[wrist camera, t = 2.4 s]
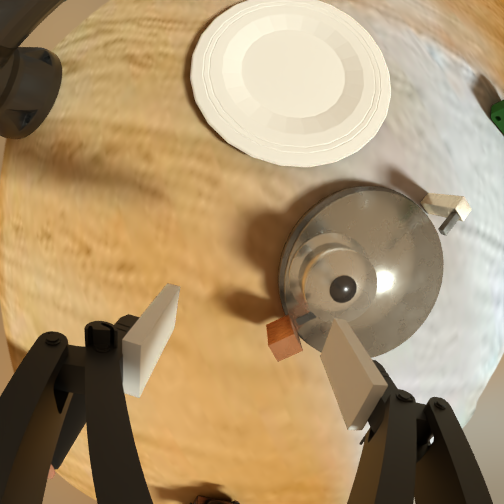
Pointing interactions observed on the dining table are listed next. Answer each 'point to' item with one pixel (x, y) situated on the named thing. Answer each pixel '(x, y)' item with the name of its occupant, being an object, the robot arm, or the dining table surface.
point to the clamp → (498, 115)
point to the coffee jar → (69, 431)
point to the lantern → (212, 501)
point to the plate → (290, 81)
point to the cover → (332, 277)
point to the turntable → (385, 264)
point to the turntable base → (432, 202)
